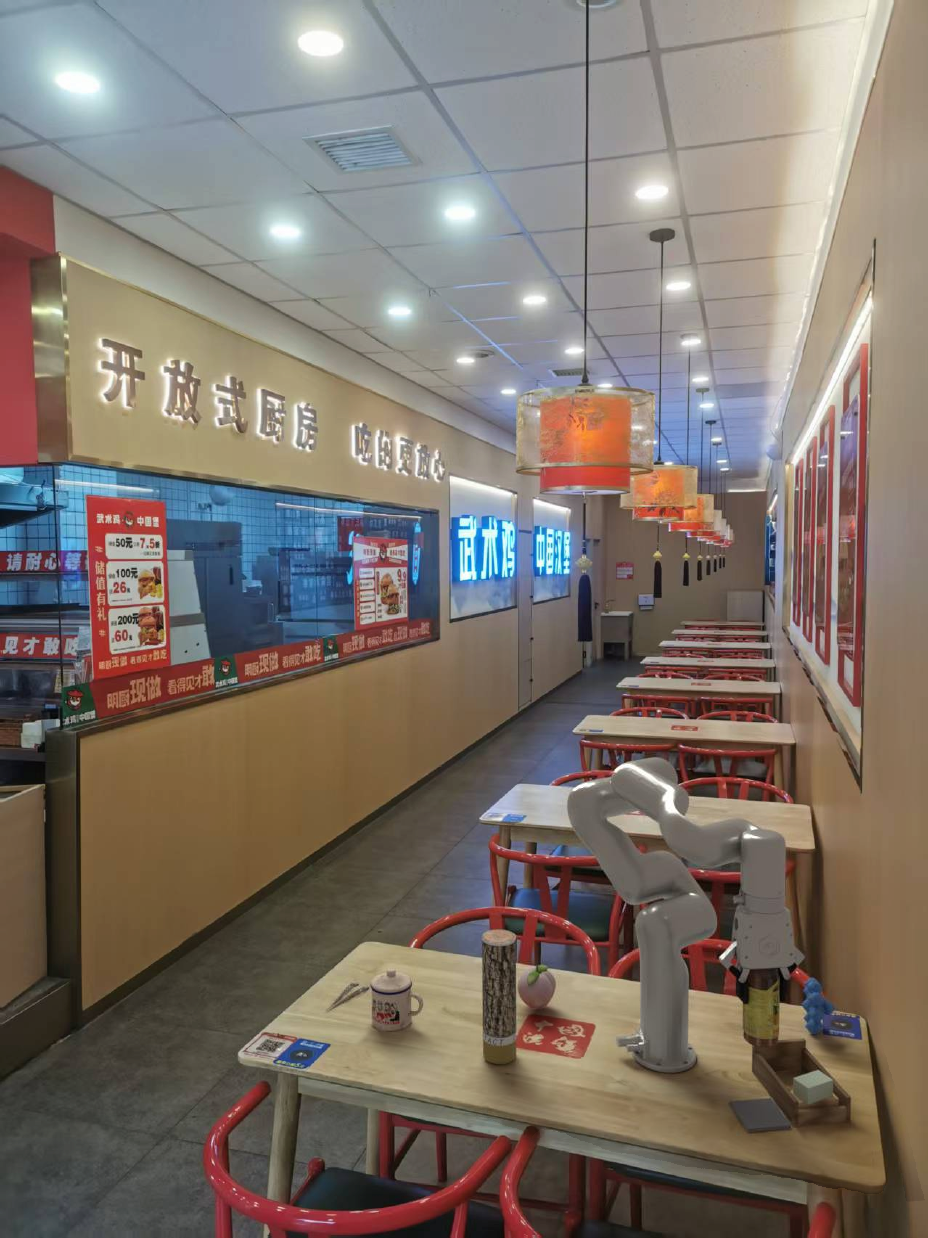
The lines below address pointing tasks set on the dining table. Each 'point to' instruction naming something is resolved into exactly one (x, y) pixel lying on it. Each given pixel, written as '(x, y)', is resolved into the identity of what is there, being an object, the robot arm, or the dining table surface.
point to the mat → (759, 1115)
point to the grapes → (815, 1006)
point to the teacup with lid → (393, 1000)
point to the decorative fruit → (536, 987)
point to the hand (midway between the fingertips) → (761, 998)
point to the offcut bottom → (819, 1102)
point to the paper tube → (499, 996)
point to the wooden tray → (782, 1060)
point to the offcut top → (813, 1087)
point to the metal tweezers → (348, 995)
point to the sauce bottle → (762, 1008)
